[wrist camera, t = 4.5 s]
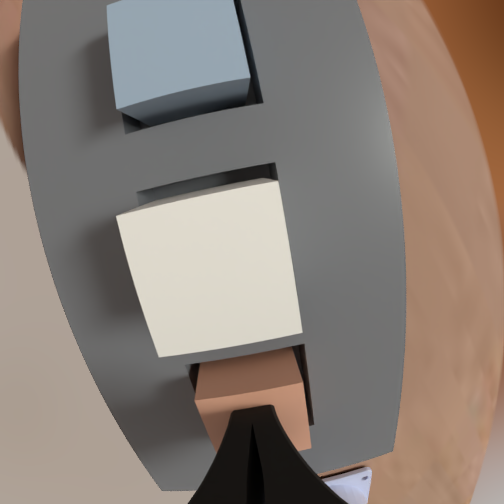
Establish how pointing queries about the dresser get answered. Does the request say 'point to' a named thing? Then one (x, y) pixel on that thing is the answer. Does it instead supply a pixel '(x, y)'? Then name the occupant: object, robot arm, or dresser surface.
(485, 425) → the dresser surface
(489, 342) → the dresser surface
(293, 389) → the terracotta key
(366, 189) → the key panel
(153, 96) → the blue key
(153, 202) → the white key
